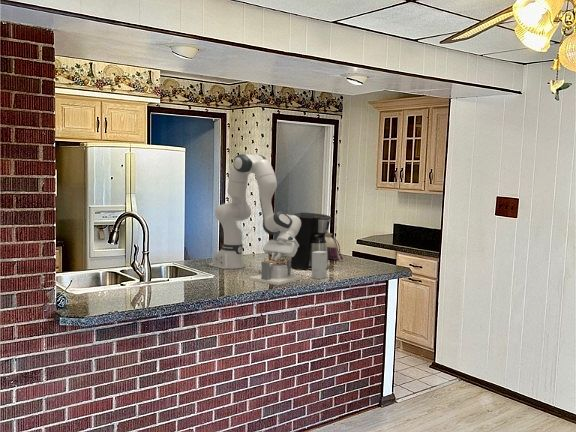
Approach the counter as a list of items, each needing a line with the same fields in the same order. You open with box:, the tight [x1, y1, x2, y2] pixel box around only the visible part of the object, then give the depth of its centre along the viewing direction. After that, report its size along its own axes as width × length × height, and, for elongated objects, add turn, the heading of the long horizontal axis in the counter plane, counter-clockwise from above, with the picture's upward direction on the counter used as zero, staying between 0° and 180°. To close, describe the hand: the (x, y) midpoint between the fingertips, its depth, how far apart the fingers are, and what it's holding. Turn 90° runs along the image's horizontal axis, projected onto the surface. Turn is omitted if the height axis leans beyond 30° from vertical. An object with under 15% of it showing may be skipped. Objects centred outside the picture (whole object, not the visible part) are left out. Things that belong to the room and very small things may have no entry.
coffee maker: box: [277, 212, 332, 271], centre depth 335 cm, size 23×32×34 cm
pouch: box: [324, 231, 344, 261], centre depth 370 cm, size 25×8×19 cm, turn 57°
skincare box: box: [311, 251, 328, 280], centre depth 307 cm, size 8×6×15 cm
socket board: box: [248, 258, 303, 286], centre depth 299 cm, size 20×22×11 cm
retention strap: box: [264, 259, 287, 264], centre depth 299 cm, size 18×3×1 cm, turn 144°
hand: (273, 260), depth 296 cm, fingers closed, pressing on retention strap
